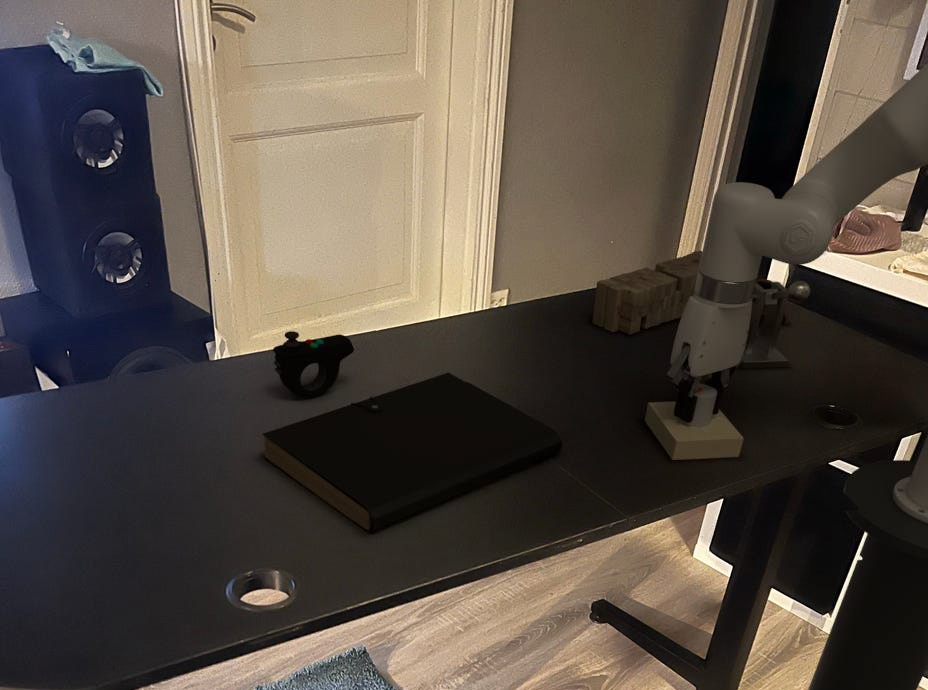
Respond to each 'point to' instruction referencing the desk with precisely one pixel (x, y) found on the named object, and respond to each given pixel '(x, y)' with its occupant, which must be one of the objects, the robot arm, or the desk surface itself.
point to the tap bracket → (764, 331)
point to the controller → (310, 362)
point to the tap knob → (703, 405)
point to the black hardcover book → (408, 448)
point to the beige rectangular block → (692, 434)
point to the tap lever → (788, 293)
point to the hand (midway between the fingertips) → (695, 413)
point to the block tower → (646, 295)
